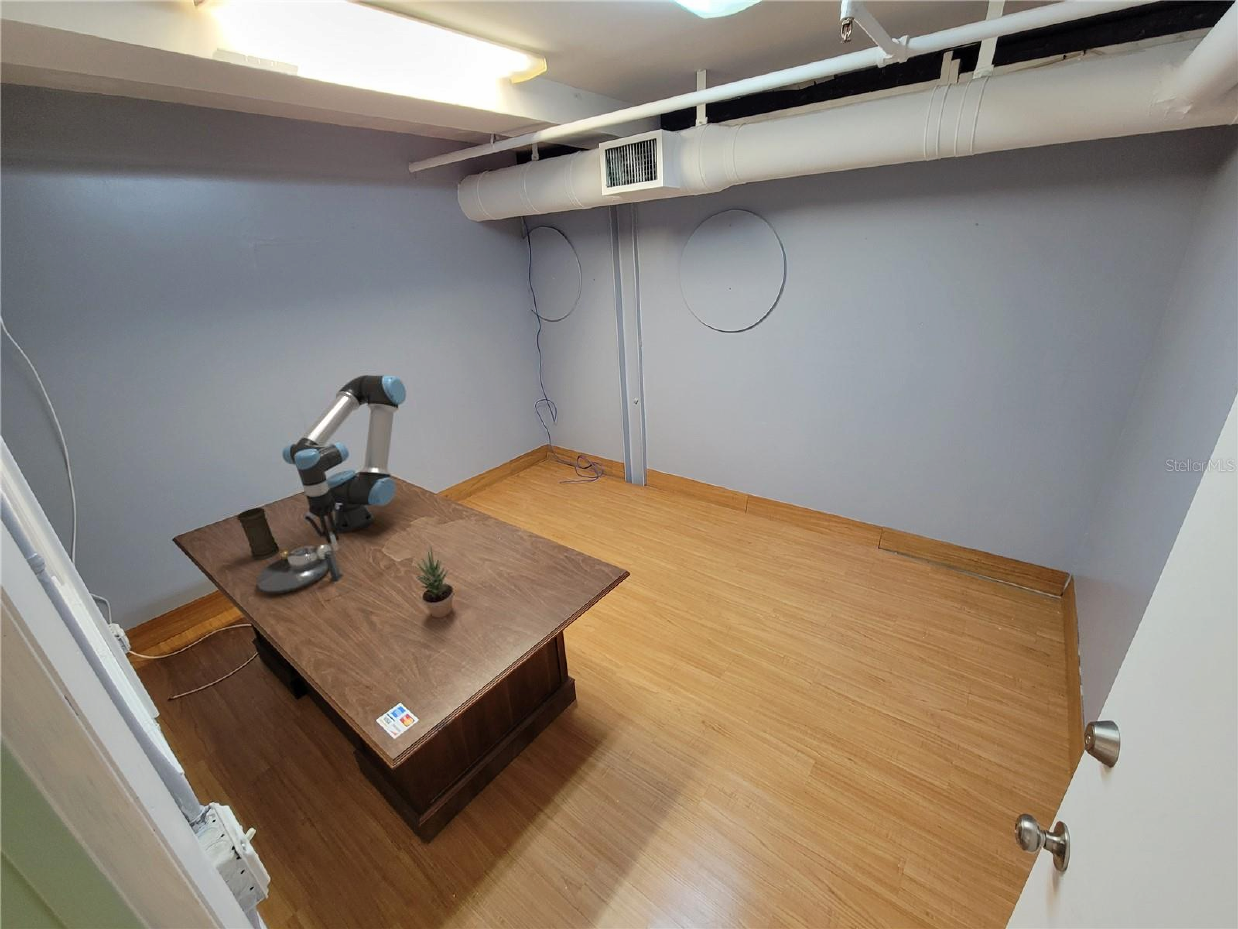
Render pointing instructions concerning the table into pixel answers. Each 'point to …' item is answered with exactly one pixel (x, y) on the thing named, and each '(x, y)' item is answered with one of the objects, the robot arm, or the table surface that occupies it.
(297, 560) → the cover
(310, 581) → the turntable
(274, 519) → the table surface
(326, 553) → the dial stand
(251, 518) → the container
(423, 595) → the potted plant
